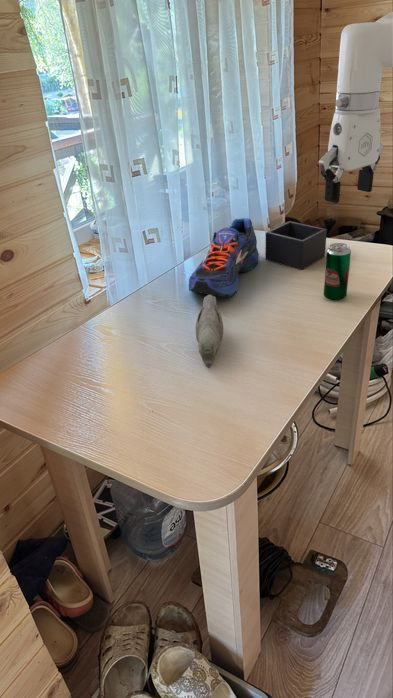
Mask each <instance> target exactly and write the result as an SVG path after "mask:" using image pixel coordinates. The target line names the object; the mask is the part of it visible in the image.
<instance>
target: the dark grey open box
mask: <svg viewBox="0 0 393 698" xmlns="http://www.w3.org/2000/svg"><path fill="white" fill-rule="evenodd" d="M327 234H328V229H327V228H324V227H323V228H322V227H319V226H315V225H310V224H306V223H300V222H296V221H292V220H289V221H287V222H284V223H283V224H280V225H278V226H276V227H273V228H272V229H269V230H268V231H265V260H266V261H267V262H268V261H269V262H272V263H276V264H279V265H281V266H282V265H283V266H286V267H290V268H293V269H296V270H300V271H303V270H305V269H307V268H308V267H310V266H312V265H314V264H315V263H317V262H318V261H321V260H322V259H323V258H325V257H326V250H327V249H326V247H327Z"/></svg>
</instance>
